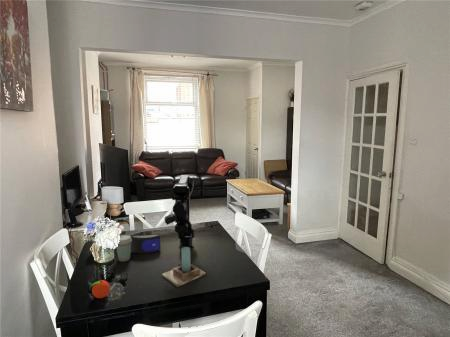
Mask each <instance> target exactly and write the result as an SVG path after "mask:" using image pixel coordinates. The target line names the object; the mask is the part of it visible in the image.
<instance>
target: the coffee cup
mask: <svg viewBox="0 0 450 337" xmlns="http://www.w3.org/2000/svg"><path fill="white" fill-rule="evenodd" d="M119 236H120V242H119V244H118V247H117V248H116V252H117V258H118V261H119V262H127V261H129V260H130V259H131V252H132V251H131V241H132V238H131V237H132V236H131V235H128V234H122V235H119Z"/></svg>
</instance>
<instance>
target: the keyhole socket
mask: <svg viewBox="0 0 450 337" xmlns="http://www.w3.org/2000/svg"><path fill="white" fill-rule="evenodd" d="M190 268H191V271H189V272H187V273H183V272H182V264H181V265H178V266H176V267H173V268H172V269H171V270H169V271H166V272H163V273H162V274H161V276H162V277H163V278H165V279H166V280H168V281H169V283H171V284H172V285H174V286H175V287H177V288H179V287H180V286H183V285H185V284H188V283H190V282H192V281H194V280H196V279H199V278H201V277H203V276H206V275H207V274H206V272H205V271H204V270H202V269H201V268H199V267H197V266H195V265H194V264H192V263H191V262H190Z"/></svg>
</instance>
